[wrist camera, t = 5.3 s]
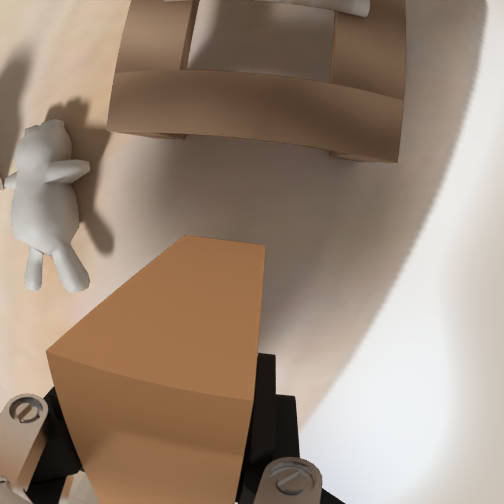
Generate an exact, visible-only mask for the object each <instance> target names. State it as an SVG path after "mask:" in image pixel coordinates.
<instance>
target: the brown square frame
mask: <svg viewBox="0 0 504 504" xmlns="http://www.w3.org/2000/svg"><path fill="white" fill-rule="evenodd" d="M199 1H200V0H131V4H130V7H129V11H128V15H127V19H126V23H125V27H124V31H123V35H122V39H121V44H120V49H119V53H118V58H117V63H116V69H115V74H114V80H113V86H112V92H111V99H110V106H109V113H108V121H107V130H106V131H111V132H118V133H125V134H132V135H139V136H145V137H151V138H163V139H183V140H184V137H185V134H195V135H209V136H222V137H233V138H243V139H253V140H262V141H270V142H278V143H285V144H292V145H299V146H306V147H312V148H318V149H324V150H330V156H331V157H336V158H342V159H347V160H353V161H358V162H390V163H397V162H398V154H399V146H400V137H401V128H402V117H403V104H404V89H405V66H406V15H405V0H255V1H269V2H280V3H289V4H297V5H304V6H311V7H317V8H323V9H329V10H334V11H335V19H334V34H333V47H332V59H331V70H330V81H329V83H325V82H319V81H313V80H307V79H301V78H294V77H286V76H278V75H269V74H259V73H248V72H234V71H214V70H186V69H187V63H188V57H189V52H190V46H191V40H192V35H193V30H194V25H195V20H196V15H197V10H198V5H199Z"/></svg>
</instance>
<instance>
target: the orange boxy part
mask: <svg viewBox="0 0 504 504" xmlns="http://www.w3.org/2000/svg"><path fill="white" fill-rule="evenodd" d="M265 250H266V245H259V244H251V243H244V242H236V241H228V240H220V239H212V238H205V237H197V236H189V235H185V236H183V237H182V238H181V239H179V240H178V241H177V242H175V243H174V244H173V245H172V246H170V247H169V248H168V249H167V250H165V251H164V252H163V253H161V254H160V255H159V256H158V257H156V258H155V259H154V260H153V261H151V262H150V263H149V264H148V265H146V266H145V267H144V268H143V269H141V270H140V271H139V272H138V273H136V274H135V275H134V276H133V277H131V278H130V279H129V280H128V281H127V282H125V283H124V284H123V285H122V286H121V287H119V288H118V289H117V290H116V291H114V292H113V293H112V294H111V295H110V296H108V297H107V298H106V299H105V300H104V301H103V302H101V303H100V304H99V305H98V306H97V307H95V308H94V309H93V310H92V311H91V312H90V313H88V314H87V315H86V316H85V317H84V318H83V319H81V320H80V321H79V322H78V323H77V324H76V325H75V326H73V327H72V328H71V329H70V330H69V331H68V332H67V333H65V334H64V335H63V336H62V337H61V338H60V339H59V340H57V341H56V342H55V343H54V344H53V345H52V346H51V347H50V348H49V349H47V350H46V354H47V359H48V363H49V367H50V371H51V375H52V379H53V383H54V386H55V390H56V393H57V397H58V400H59V403H60V406H61V410H62V413H63V416H64V419H65V422H66V425H67V427H68V430H69V433H70V436H71V438H72V441H73V444H74V446H75V449H76V451H77V454H78V456H79V459H80V461H81V463H82V466H83V468H84V470H85V473H86V475H87V477H88V479H89V481H90V483H91V486H92V488H93V490H94V492H95V494H96V496H97V498H98V500H99V502H100V504H234V503H235V498H236V493H237V488H238V483H239V477H240V472H241V467H242V462H243V456H244V451H245V446H246V440H247V435H248V429H249V423H250V418H251V412H252V407H253V401H254V389H255V378H256V366H257V354H258V342H259V329H260V317H261V304H262V291H263V277H264V264H265Z"/></svg>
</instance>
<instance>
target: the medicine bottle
mask: <svg viewBox="0 0 504 504" xmlns="http://www.w3.org/2000/svg"><path fill="white" fill-rule="evenodd" d="M2 191H3V184H2V180H1V176H0V193H1V192H2Z"/></svg>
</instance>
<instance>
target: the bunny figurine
mask: <svg viewBox="0 0 504 504" xmlns="http://www.w3.org/2000/svg"><path fill="white" fill-rule="evenodd" d="M71 157H72V142H71V139H70V137H69V135H68V133H67V132H66V130H65V128H64V121H61V120H57V119H52V120H49V121H46V122H43V123H42V124H41V126H39V125H35V126H32V127H30V128H27V129H25V136H24V137H23V138H22V140H21V141H20V142H19V143H18V145H17V148H16V150H15V163H16V166H17V168H18V170H19V171H17V172H15V173H13V174H12V175H10V176H8V177H7V178H5V182H4V187H6V188H10V189H14V190H16V191H15V194H14V197H13V200H12V206H11V223H12V229H13V234H14V237H16V238H18V239H19V240H21V241H22V242H24V243H26V244H27V245H29V246H30V251H29V256H28V261H27V266H26V272H25V285H26V286H27V288H28V289H29V290H30V291H32V292H35V291H37V290H39V289H40V288H41V284H42V266H43V254H46V255H51V254H52V257H53V260H54V263H55V266H56V268H57V271H58V274H59V277H60V279H61V282H62V284H63V286H64V287H65V289H66V290H67V291H68V292H70V293H76V292H80V291H84V290H85V289H87V288H88V287H89V283H90V279H89V275H88V273H87V271H86V269H85V268H84V266H83V265H82V263H81V261H80V260H79V258H78V256H77V255H76V253H75V251H74V250H73V248H72V246H71V245H70V242H71V240H72V238H73V237H74V235H75V233H76V231H77V229H78V228H79V210H78V203H77V198H76V194H75V192H74V190H73V188H72V186H71V184H72V183H73V182H75V181H76V180H77V179H79V178H80V177H82V176H83V175H85V174H86V173H88V172H89V171H91V170H90V165H89V161H83V160H77V159H75V160H70V159H71Z"/></svg>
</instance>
